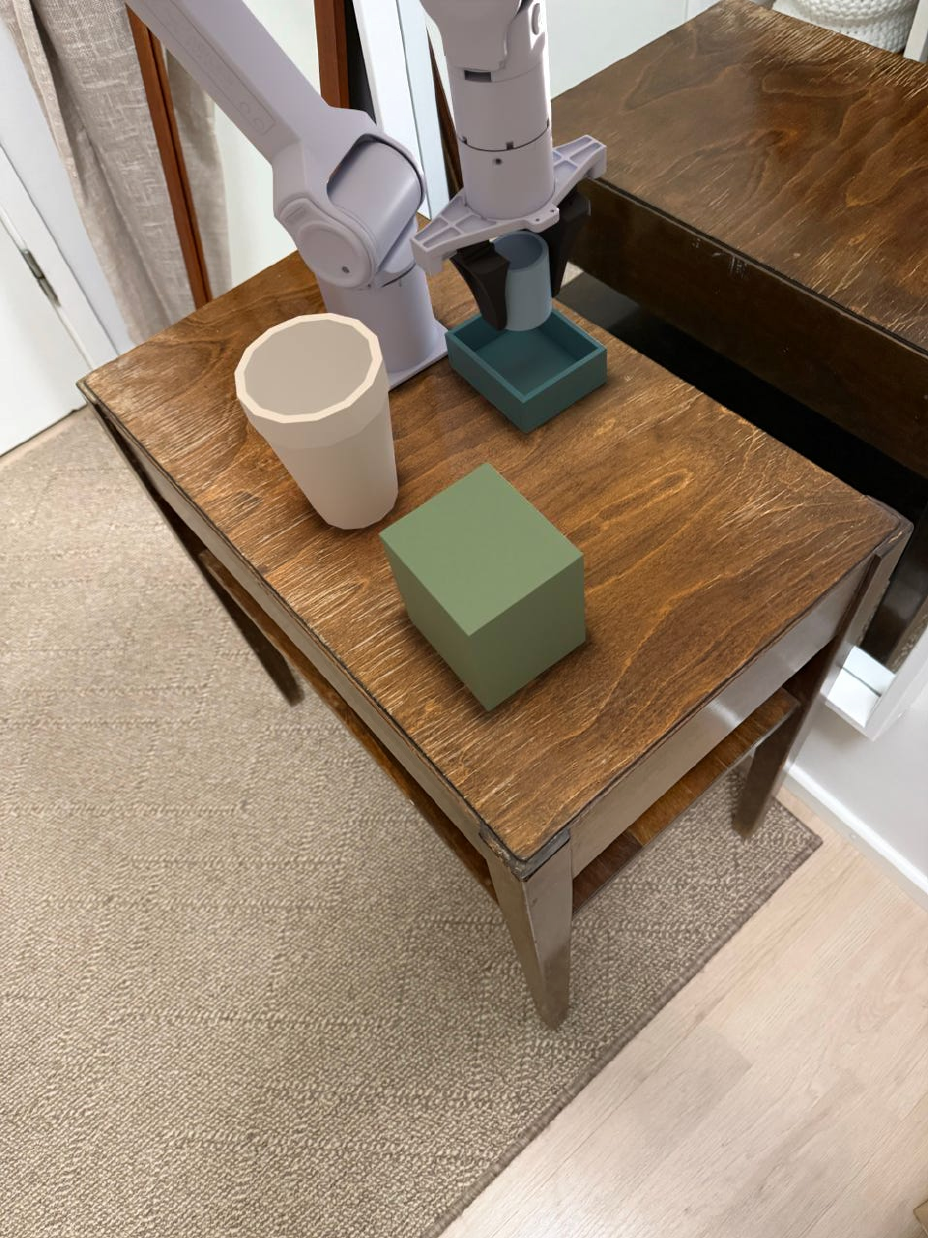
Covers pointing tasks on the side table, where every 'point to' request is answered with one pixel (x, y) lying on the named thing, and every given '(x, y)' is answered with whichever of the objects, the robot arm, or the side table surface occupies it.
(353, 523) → the foam cup
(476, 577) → the sage green cube
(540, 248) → the blue cup
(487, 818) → the side table surface
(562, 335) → the bin
